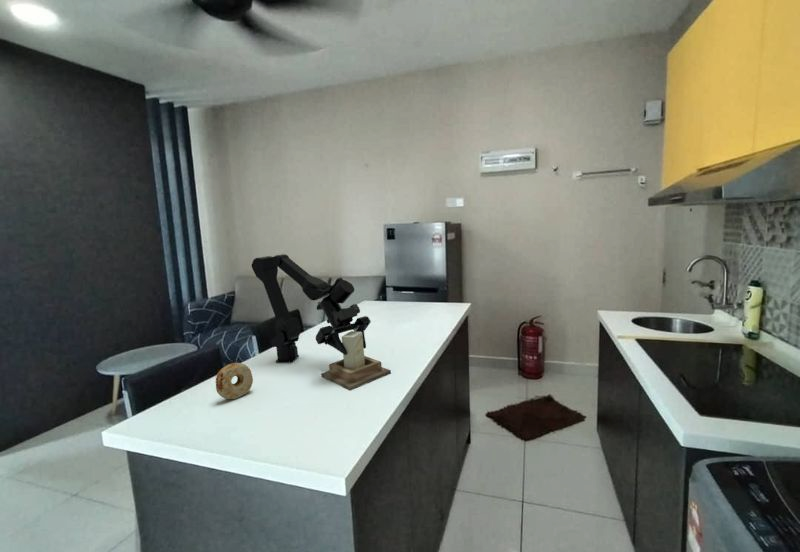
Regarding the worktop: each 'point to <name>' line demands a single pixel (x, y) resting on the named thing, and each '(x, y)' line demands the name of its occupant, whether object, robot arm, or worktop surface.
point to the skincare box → (353, 350)
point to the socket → (355, 373)
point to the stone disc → (237, 389)
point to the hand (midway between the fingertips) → (356, 351)
